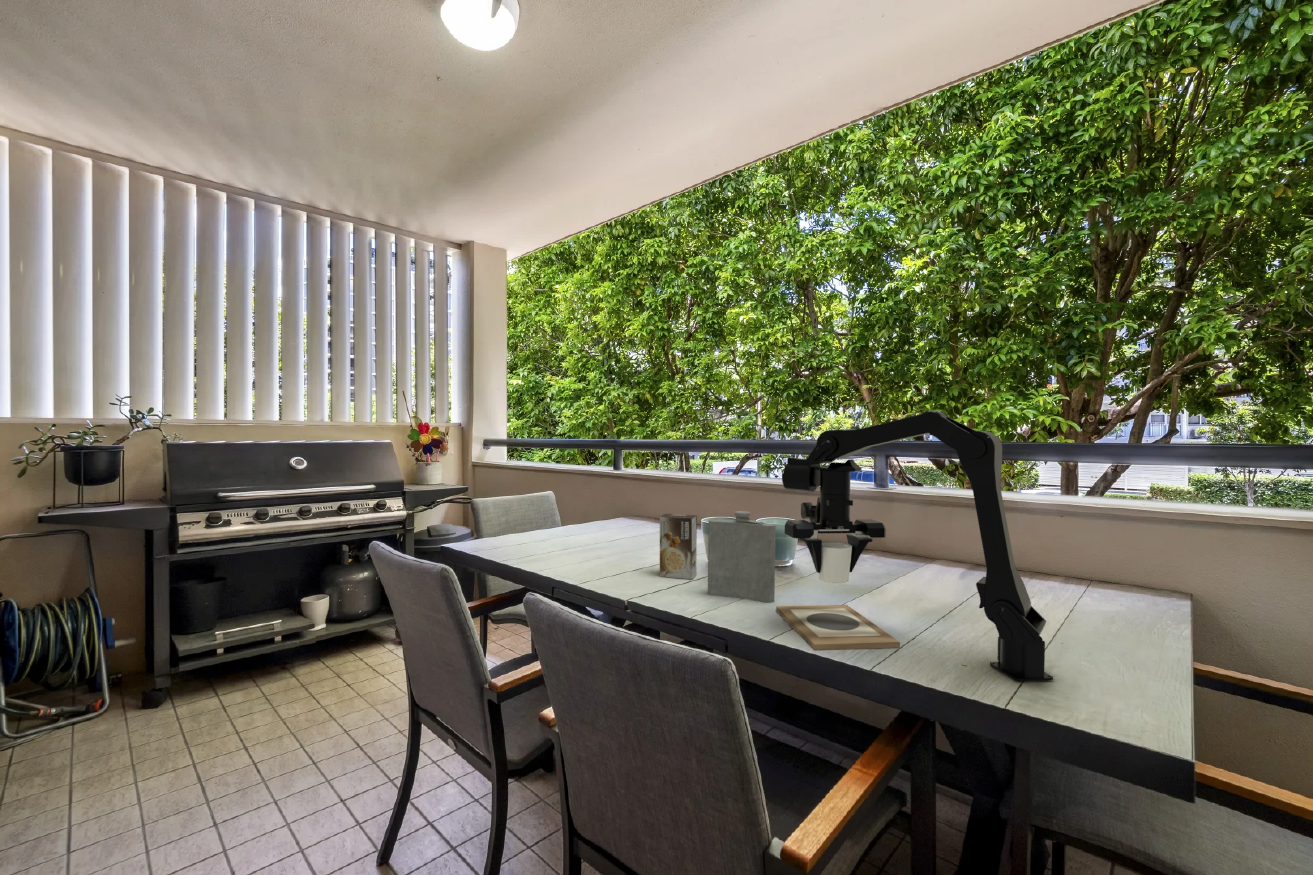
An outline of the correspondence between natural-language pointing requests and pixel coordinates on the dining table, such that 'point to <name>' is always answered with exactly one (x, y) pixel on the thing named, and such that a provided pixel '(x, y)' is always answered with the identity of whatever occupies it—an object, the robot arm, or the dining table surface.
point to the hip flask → (741, 558)
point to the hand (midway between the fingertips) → (833, 572)
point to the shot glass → (835, 562)
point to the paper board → (835, 627)
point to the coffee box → (678, 546)
